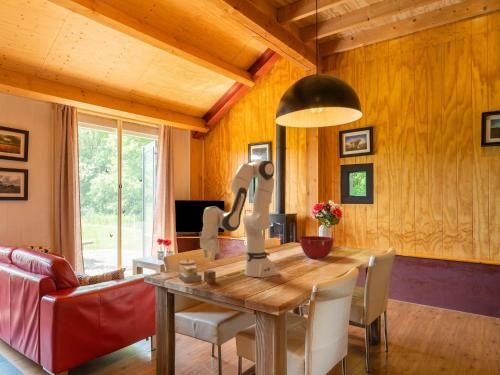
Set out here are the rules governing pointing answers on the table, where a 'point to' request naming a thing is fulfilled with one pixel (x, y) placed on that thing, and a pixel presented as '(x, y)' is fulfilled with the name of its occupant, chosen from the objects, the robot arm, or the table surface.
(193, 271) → the oak block
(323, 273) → the table surface
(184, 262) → the lidded jar
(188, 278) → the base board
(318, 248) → the mixing bowl
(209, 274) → the walnut block
